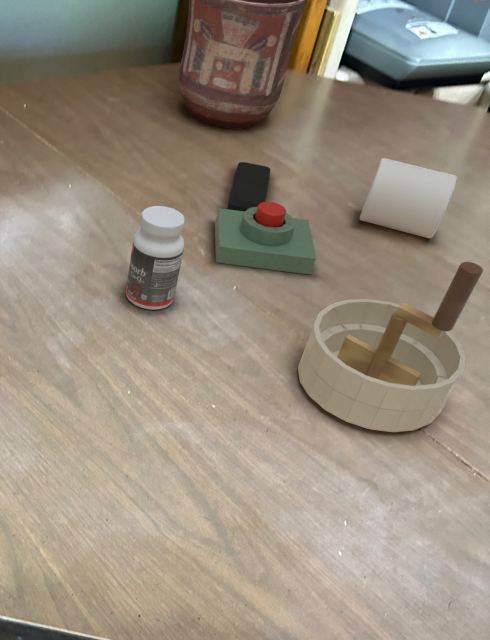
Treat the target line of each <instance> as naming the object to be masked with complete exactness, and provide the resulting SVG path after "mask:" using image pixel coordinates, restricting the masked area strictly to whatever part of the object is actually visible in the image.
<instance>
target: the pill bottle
mask: <svg viewBox="0 0 490 640" xmlns="http://www.w3.org/2000/svg"><path fill="white" fill-rule="evenodd" d="M185 221H186V220H185V216H184V215H183V214H182V213H181V212H180V211H178V210H177V209H175V208H172V207H169V206H166V205H165V206H164V205H153V206H148V207H146V208H145V209H144V210H142V212H141V217H140V220H139V226H140V228H139V229H138V230H137V231H136V232H135V234H134V236H133V239H132V240H133V241H132V245H131V246H132V247H131V253H130V260H129V267H128V273H127V280H126V286H125V295H126V297H127V299H128V300H129V302H130V303H132V304H133V305H134V306H136V307H139V308H141V309H146V310H153V311H155V310H163V309H165V308H168V307H169V306H171V305H172V303H173V302H174V299H175V296H176V291H177V285H178V282H179V281H178V280H179V275H180V271H181V266H182V260H183V255H184V251H185V239H184V237H183V235H182V232H183V231H184V226H185Z"/></svg>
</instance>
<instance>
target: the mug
mask: <svg viewBox="0 0 490 640" xmlns="http://www.w3.org/2000/svg"><path fill="white" fill-rule="evenodd" d="M457 180H458V178H457V175H455V174H451V173H447V172H443V171H439V170H435V169H431V168H428V167H423V166H419V165H414V164H410V163H407V162H402V161H399V160H394V159H390V158H387V157H382V158H381V159H380V161H379V163H378V166H377V169H376V171H375V174H374V176H373V179H372V182H371V184H370V188H369V190H368V193H367V196H366V199H365V201H364V203H363V207H362V210H361V213H360V215H359V221H361V222H365V223H368V224H369V223H370V224H373V225H377V226H381V227H384V228H388V229H392V230H396V231H400V232H402V233H407V234H411V235H414V236H418V237H422V238H426V239H432V238H433V237H434V236H435V234H436V232H437V230H438V229H439V228H440V227H439V226H440V225H441V222H442V221H443V218H444V216H445V214H446V212H447V210H448V207H449V204H450V202H451V199H452V197H453V193H454V191H455V188H456V184H457Z"/></svg>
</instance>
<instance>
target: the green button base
mask: <svg viewBox="0 0 490 640" xmlns="http://www.w3.org/2000/svg"><path fill="white" fill-rule="evenodd" d="M256 211H257V207H252V208H249V209H248V210H246V211H245V212H244V211H236V210H228V209H227V208H219V207H218V208H217V213H216V216H215V220H214V243H215V245H214V246H215V263H216V264H217V263H218V264H226V265H233V266H241V267H248V268H257V269H264V270H270V271H279V272H286V273H293V274H294V273H295V274H300V275H301V274H302V275H309V276H310V275H312V272H313V269H314V266H315V264H316V261H317V257H316V252H315V247H314V242H313V237H312V232H311V227H310V221H309V219H304V218H297V217H293V216H291V215H290V214H289V213H288V212H286V215H285V219H284V222H283V225H282V226H281V227H276V228H273V227H266V226H263V225H261V224H258V223H257V222H256V221H255V215H256Z"/></svg>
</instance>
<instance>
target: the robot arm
mask: <svg viewBox="0 0 490 640" xmlns="http://www.w3.org/2000/svg"><path fill="white" fill-rule="evenodd" d="M470 1H473V2H479V3H484V2H486V1H487V0H470Z"/></svg>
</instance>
